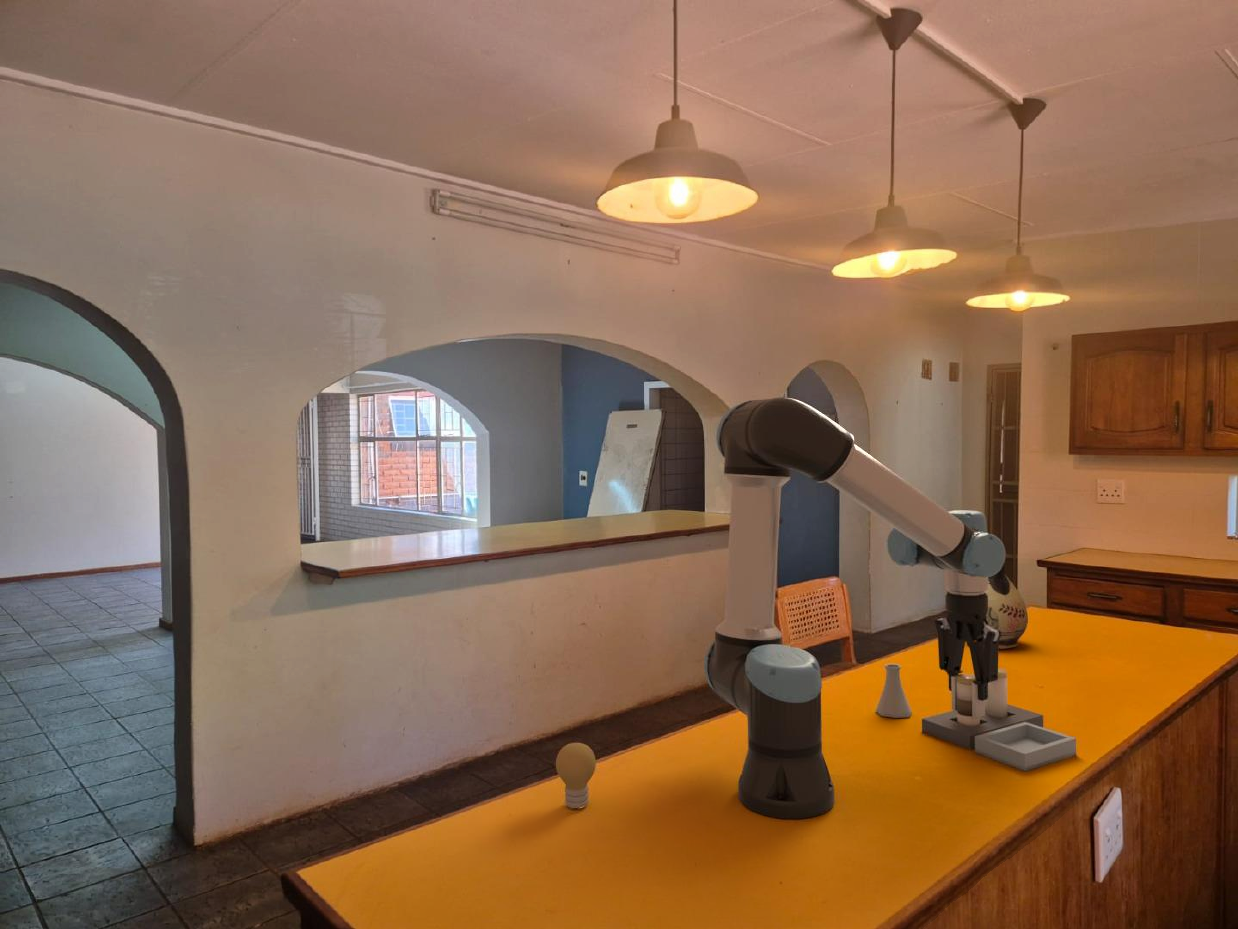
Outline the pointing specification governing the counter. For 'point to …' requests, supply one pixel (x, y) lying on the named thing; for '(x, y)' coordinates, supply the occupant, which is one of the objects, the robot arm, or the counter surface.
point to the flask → (893, 695)
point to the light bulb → (576, 772)
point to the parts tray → (1025, 746)
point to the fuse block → (965, 735)
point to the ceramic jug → (1005, 610)
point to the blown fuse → (965, 700)
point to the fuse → (997, 696)
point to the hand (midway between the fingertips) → (968, 712)
